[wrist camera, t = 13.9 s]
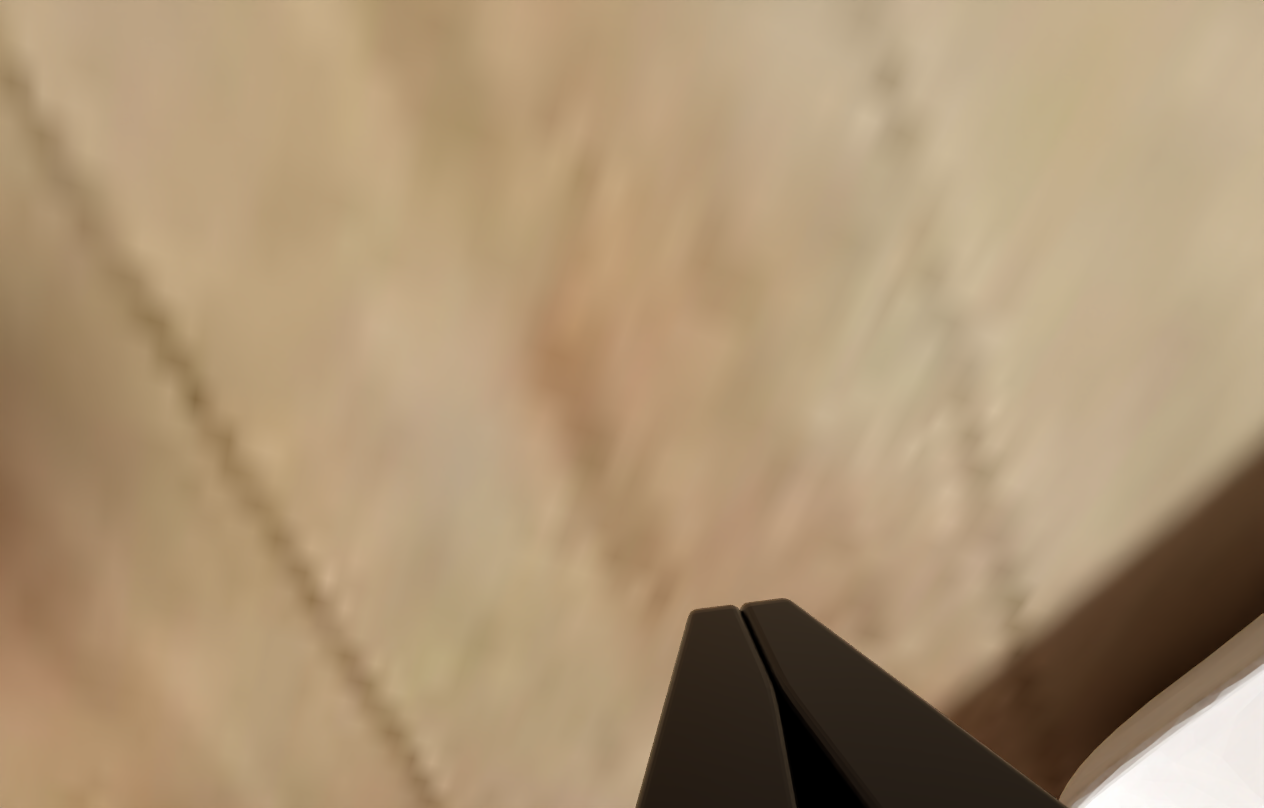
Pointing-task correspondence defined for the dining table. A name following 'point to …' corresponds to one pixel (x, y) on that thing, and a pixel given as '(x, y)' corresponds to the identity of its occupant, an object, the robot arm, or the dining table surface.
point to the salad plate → (1187, 740)
